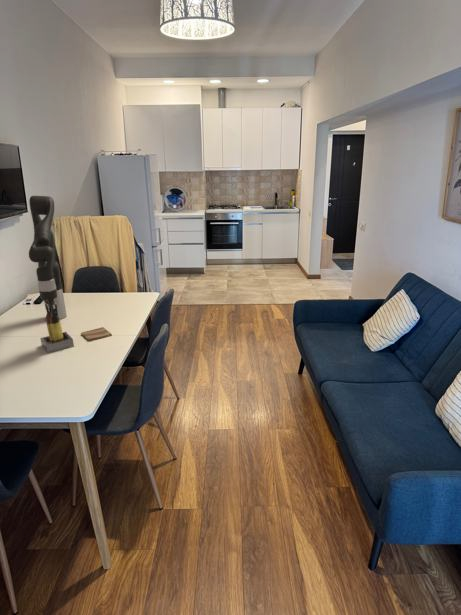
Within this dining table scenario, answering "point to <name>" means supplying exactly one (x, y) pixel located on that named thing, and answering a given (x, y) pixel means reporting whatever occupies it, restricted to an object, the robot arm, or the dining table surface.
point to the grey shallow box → (57, 343)
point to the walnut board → (96, 334)
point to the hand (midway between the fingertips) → (53, 321)
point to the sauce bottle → (53, 328)
